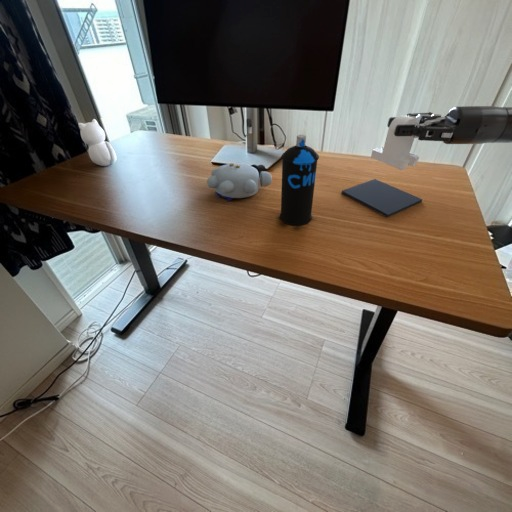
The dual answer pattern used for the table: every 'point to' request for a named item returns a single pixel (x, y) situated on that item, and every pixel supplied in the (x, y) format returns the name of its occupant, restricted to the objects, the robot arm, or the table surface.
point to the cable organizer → (397, 146)
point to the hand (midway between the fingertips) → (392, 126)
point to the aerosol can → (298, 183)
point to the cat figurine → (97, 143)
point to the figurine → (238, 180)
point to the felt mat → (381, 197)
